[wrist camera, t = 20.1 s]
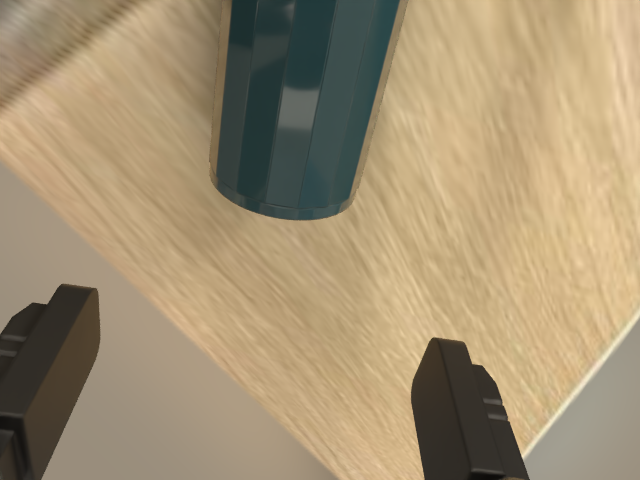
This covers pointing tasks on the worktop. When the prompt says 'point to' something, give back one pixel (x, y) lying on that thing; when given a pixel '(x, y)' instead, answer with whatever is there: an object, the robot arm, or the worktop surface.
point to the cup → (299, 101)
